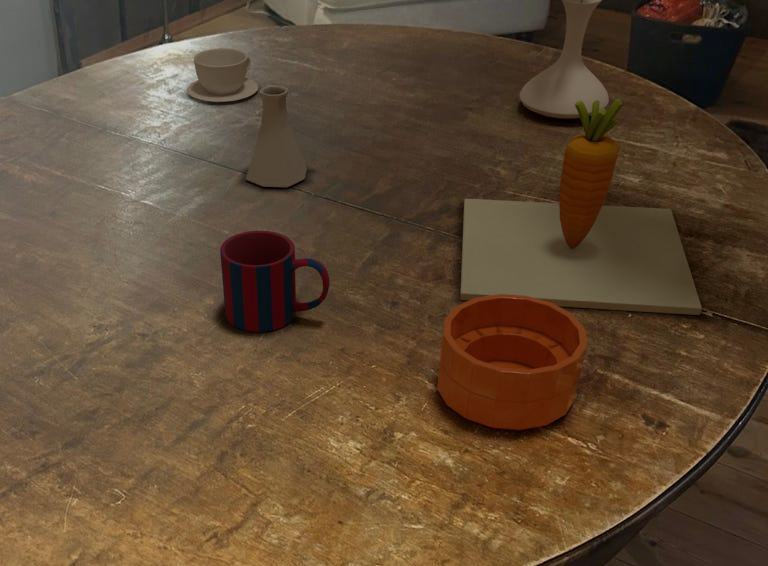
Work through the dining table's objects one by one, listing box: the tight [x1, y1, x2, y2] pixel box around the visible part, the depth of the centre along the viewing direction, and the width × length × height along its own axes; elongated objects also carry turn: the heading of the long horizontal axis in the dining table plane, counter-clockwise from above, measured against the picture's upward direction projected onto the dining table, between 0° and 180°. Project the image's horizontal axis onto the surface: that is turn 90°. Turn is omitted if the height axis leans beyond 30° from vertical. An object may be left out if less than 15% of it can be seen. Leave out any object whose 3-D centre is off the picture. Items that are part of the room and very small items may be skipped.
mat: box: [459, 198, 703, 316], centre depth 94 cm, size 22×20×1 cm
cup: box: [219, 230, 330, 333], centre depth 85 cm, size 7×10×7 cm
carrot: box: [558, 98, 623, 249], centre depth 89 cm, size 5×5×15 cm
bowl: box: [436, 294, 588, 431], centre depth 76 cm, size 11×11×6 cm
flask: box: [245, 84, 308, 188], centre depth 106 cm, size 7×7×10 cm
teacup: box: [186, 47, 259, 103], centre depth 128 cm, size 10×10×5 cm
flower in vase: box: [518, 0, 610, 120], centre depth 113 cm, size 13×11×25 cm
